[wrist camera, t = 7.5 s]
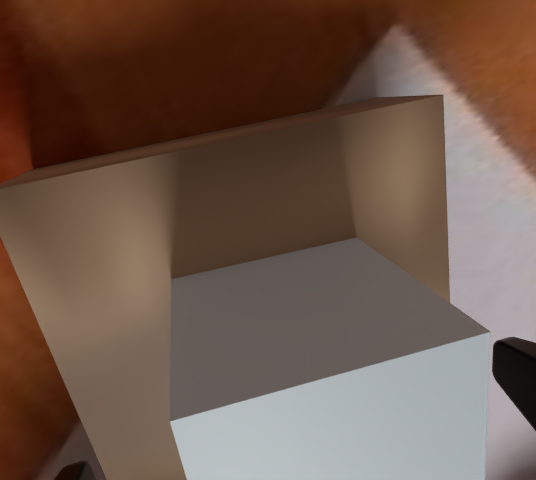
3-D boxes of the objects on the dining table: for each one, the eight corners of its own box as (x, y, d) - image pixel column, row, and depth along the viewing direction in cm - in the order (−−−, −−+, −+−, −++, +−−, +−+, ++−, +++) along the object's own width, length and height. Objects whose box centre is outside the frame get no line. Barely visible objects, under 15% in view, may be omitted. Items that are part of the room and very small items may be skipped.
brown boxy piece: (395, 360, 18) (454, 427, 14) (141, 440, 16) (132, 539, 13) (371, 97, 14) (442, 94, 10) (37, 166, 12) (-19, 192, 9)
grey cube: (356, 237, 11) (490, 331, 6) (369, 387, 13) (481, 548, 8) (170, 279, 10) (170, 421, 6) (210, 433, 12) (234, 641, 7)
